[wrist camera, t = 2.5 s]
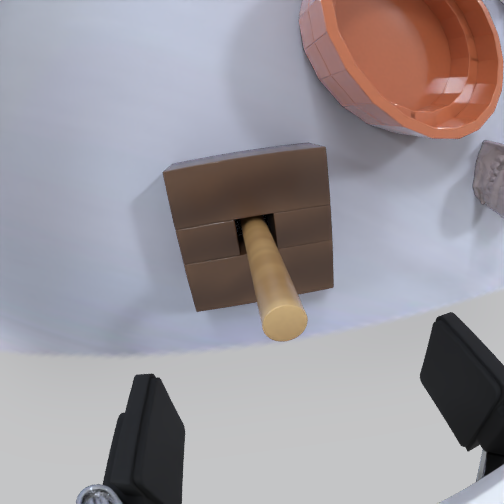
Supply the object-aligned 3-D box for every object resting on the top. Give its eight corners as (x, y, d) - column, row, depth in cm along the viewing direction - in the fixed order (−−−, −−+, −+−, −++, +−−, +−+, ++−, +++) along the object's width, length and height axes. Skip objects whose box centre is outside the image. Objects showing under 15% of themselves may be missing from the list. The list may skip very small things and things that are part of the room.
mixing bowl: (281, -44, 16) (298, -80, 10) (441, -18, 16) (478, -32, 11) (313, 137, 23) (342, 142, 17) (467, 133, 23) (510, 141, 18)
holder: (171, 164, 22) (162, 172, 19) (309, 142, 23) (326, 146, 19) (199, 286, 27) (196, 312, 23) (319, 265, 27) (333, 287, 23)
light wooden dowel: (238, 208, 24) (259, 309, 11) (260, 204, 24) (306, 300, 12) (241, 229, 25) (265, 345, 12) (263, 226, 25) (308, 337, 12)
